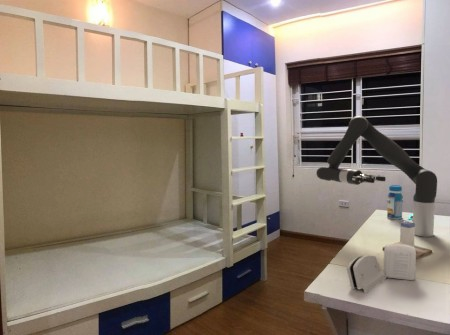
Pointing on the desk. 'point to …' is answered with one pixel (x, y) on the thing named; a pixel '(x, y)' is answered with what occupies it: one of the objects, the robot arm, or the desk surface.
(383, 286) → the desk surface
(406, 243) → the cartridge
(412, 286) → the desk surface
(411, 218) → the handheld game console
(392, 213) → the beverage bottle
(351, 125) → the robot arm
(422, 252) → the pad
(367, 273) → the white black curved block
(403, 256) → the photo printer
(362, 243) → the desk surface
